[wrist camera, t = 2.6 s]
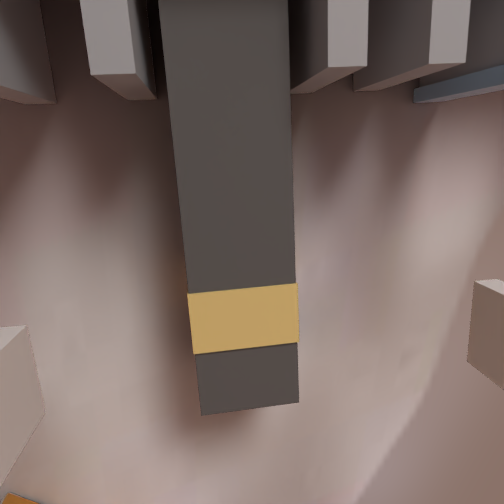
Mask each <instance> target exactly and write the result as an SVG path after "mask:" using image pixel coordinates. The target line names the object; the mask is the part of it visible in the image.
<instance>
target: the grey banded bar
mask: <svg viewBox="0 0 504 504" xmlns="http://www.w3.org/2000/svg"><path fill="white" fill-rule="evenodd" d="M158 4H159V14H160V23H161V33H162V43H163V52H164V62H165V71H166V81H167V91H168V100H169V110H170V119H171V129H172V139H173V148H174V158H175V167H176V177H177V187H178V196H179V206H180V215H181V225H182V235H183V244H184V254H185V263H186V273H187V282H188V291H187V297H188V307H189V316H190V326H191V335H192V345H193V354H195V359H196V369H197V378H198V388H199V398H200V407H201V416H202V415H209V414H217V413H224V412H232V411H239V410H246V409H254V408H261V407H269V406H276V405H283V404H291V403H298V402H299V385H298V349H297V342H299V318H298V284H297V283H296V277H295V241H294V205H293V169H292V133H291V96H290V60H289V24H288V0H158Z"/></svg>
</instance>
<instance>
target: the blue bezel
mask: <svg viewBox="0 0 504 504" xmlns="http://www.w3.org/2000/svg"><path fill="white" fill-rule="evenodd" d="M500 90H504V65H500V66H496V67H493V68H489V69H485V70H482V71H478V72H474V73H471V74H467V75H463V76H460V77H456V78H453V79H449V80H445V81H442V82H438V83H434V84H431V85H427V86H423V87H420V88H416V89H414V100H413V103H424V102H443V101H448V100H453V99H458V98H464V97H469V96H474V95H479V94H485V93H490V92H495V91H500Z"/></svg>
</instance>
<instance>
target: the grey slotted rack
mask: <svg viewBox="0 0 504 504" xmlns="http://www.w3.org/2000/svg"><path fill="white" fill-rule="evenodd" d="M80 6H81V12H82V19H83V26H84V32H85V39H86V46H87V53H88V59H89V66H90V73H91V75H92V76H93V77H95V78H96V79H98V80H99V81H100V82H102V83H103V84H105V85H106V86H108V87H109V88H111V89H112V90H113V91H115V92H116V93H118V94H119V95H121V96H122V97H124V98H125V99H127V100H153V99H157V94H156V85H155V76H154V67H153V58H152V48H151V39H150V30H149V21H148V12H147V3H146V0H80ZM288 24H289V60H290V94H302V93H312V92H314V91H316V90H318V89H321V88H323V87H325V86H327V85H329V84H331V83H333V82H335V81H337V80H339V79H341V78H343V77H345V76H347V75H349V74H351V73H353V91H377V90H382V89H385V88H388V87H391V86H394V85H397V84H400V83H404V82H407V81H410V80H413V79H416V78H419V77H420V83H419V88H420V87H423V86H427V85H431V84H434V83H438V82H442V81H445V80H449V79H453V78H456V77H460V76H463V75H467V74H471V73H474V72H478V71H482V70H485V69H489V68H493V67H496V66H500V65H504V0H288ZM0 98H2V99H6V100H10V101H14V102H18V103H22V104H26V105H28V104H53V103H57V101H56V95H55V89H54V84H53V78H52V72H51V66H50V60H49V55H48V49H47V43H46V37H45V31H44V26H43V20H42V14H41V8H40V2H39V0H0Z"/></svg>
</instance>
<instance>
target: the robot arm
mask: <svg viewBox="0 0 504 504" xmlns="http://www.w3.org/2000/svg"><path fill="white" fill-rule="evenodd" d="M467 362H468V363H470V364H471V365H472V366H474V367H475V368H476V369H477V370H479V371H480V372H481V373H482V374H484V375H485V376H486V377H488V378H489V379H490V380H491V381H493V382H494V383H495V384H496V385H498V386H499V387H500V388H502V389H503V390H504V282H503V281H501V280H499V279H491V280H481V281H474V289H473V300H472V311H471V322H470V334H469V344H468V355H467ZM45 412H46V411H45V406H44V402H43V397H42V392H41V388H40V383H39V378H38V374H37V369H36V364H35V360H34V355H33V350H32V346H31V341H30V336H29V332H28V327H27V325H20V326H10V327H0V487H1V485H2V484H3V482H4V480H5V479H6V477H7V475H8V474H9V472H10V470H11V469H12V467H13V465H14V464H15V462H16V460H17V459H18V457H19V455H20V454H21V452H22V450H23V449H24V447H25V446H26V444H27V442H28V441H29V439H30V437H31V436H32V434H33V432H34V431H35V429H36V427H37V426H38V424H39V422H40V421H41V419H42V417H43V416H44V414H45Z"/></svg>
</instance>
